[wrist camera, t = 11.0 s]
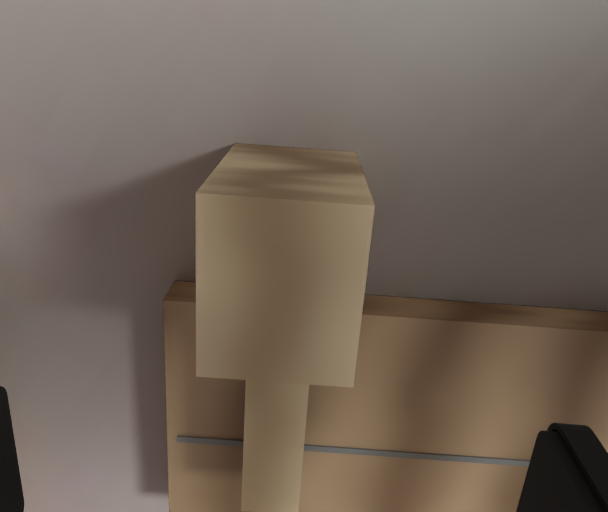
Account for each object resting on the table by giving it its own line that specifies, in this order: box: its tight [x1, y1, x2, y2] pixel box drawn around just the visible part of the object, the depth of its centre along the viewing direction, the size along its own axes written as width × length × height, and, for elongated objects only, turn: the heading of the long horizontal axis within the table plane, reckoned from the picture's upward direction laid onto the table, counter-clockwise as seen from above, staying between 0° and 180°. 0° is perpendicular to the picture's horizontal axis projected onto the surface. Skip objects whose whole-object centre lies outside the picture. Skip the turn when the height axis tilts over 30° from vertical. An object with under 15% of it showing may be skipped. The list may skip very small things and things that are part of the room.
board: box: [163, 281, 608, 512], centre depth 26 cm, size 24×12×2 cm, turn 86°
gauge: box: [195, 143, 375, 512], centre depth 22 cm, size 5×14×8 cm, turn 176°
